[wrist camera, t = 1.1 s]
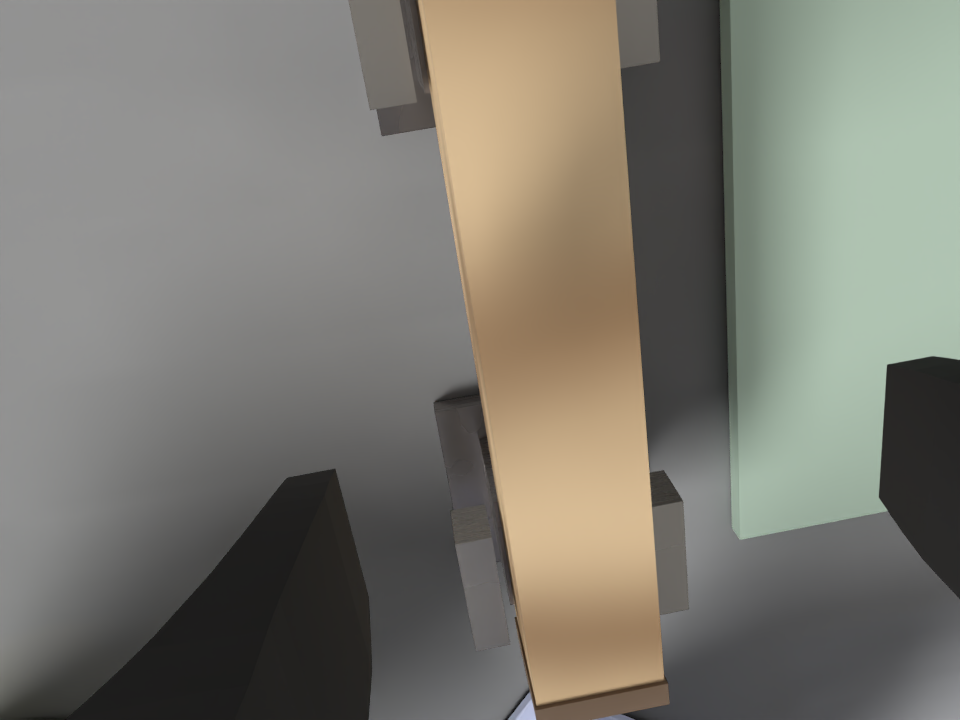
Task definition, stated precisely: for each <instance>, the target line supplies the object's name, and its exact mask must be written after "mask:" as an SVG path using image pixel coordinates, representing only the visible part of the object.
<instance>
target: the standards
mask: <svg viewBox="0 0 960 720" xmlns="http://www.w3.org/2000/svg"><path fill="white" fill-rule="evenodd" d="M349 5H350V10H351V15H352V21H353V26H354V31H355V36H356V41H357V46H358V51H359V56H360V61H361V67H362V72H363V77H364V82H365V87H366V92H367V97H368V102H369V107H370V110H374V109H377V114H378V119H379V124H380V129H381V135H382V136H386V135H392V134H398V133H404V132H410V131H415V130H421V129H427V128H433V127H436V124H435V118H434V112H433V106H432V99H431V93H430V87H429V81H428V75H427V69H426V63H425V57H424V51H423V45H422V39H421V33H420V27H419V21H418V14H417V8H416V2H415V0H349ZM616 14H617V28H618V42H619V55H620V69H621V68H627V67H633V66H639V65H645V64H651V63H657V62H660V50H659V31H658V12H657V0H616ZM434 409H435V415H436V421H437V426H438V431H439V436H440V441H441V447H442V452H443V457H444V462H445V467H446V473H447V478H448V483H449V488H450V493H451V499H452V504H453V509H454V510H451V511H450V512H451V519H452V526H453V533H454V541H455V547H456V552H457V557H458V562H459V567H460V573H461V578H462V583H463V588H464V593H465V598H466V603H467V608H468V613H469V619H470V624H471V629H472V634H473V639H474V644H475V649H476V651H481V650H486V649H491V648H496V647H501V646H506V645H510V640H509V634H508V628H507V622H506V617H505V611H504V605H503V599H502V593H501V587H500V582H499V576H498V570H497V564H496V562H499V561H501V563H502V568H503V573H504V577H505V582H506V586H507V591H508V595H509V600H510V604H511V605H513V604H515V603H514V597H513V591H512V585H511V579H510V573H509V567H508V561H507V555H506V549H505V543H504V537H503V531H502V524H501V518H500V512H499V506H498V500H497V494H496V488H495V482H494V476H493V470H492V464H491V458H490V452H489V446H488V439H487V433H486V427H485V421H484V415H483V409H482V403H481V397H480V394H478V395H472V396H467V397H461V398H456V399H451V400H445V401H440V402H434ZM649 474H650V488H651V502H652V516H653V530H654V544H655V558H656V572H657V586H658V600H659V613H660V615H663V614H668V613H673V612H678V611H683V610H688V609H689V603H688V584H687V565H686V546H685V527H684V508H683V500H682V499H681V497H680V495H679V494H678V492H677V491H676V489H675V487H674V486H673V484H672V482H671V481H670V479H669V478H668V476H667V474H666V473H665V471H664V470H662V471H657V472H651V473H649Z"/></svg>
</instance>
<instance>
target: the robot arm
mask: <svg viewBox="0 0 960 720" xmlns="http://www.w3.org/2000/svg"><path fill="white" fill-rule="evenodd" d="M879 499H880V500H881V502H882V503H883V504H884V506H885V507H886V509H887V510H888V512H889V513H890V515H891V516H892V518H893V519H894V520H895V522H896V523H897V525H898V526H899V528H900V529H901V531H902V532H903V533H904V535H905V536H906V537H907V539H908V540H909V541H910V543H911V544H912V545H913V547H914V548H915V549H916V551H917V552H918V553H919V555H920V556H921V557H922V559H923V560H924V561H925V562H926V563H927V564H928V565H929V566H930V568H931V569H932V570H933V571H934V572H935V573H936V574H937V575H938V576H939V577H940V578H941V579H942V581H943V582H944V583H945V584H946V585H947V586H948V587H949V588H950V589H951V590H952V591H953V592H954V593H955V594H956V595H957V596H958V597H959V599H960V360H957V359H951V358H944V357H936V356H930V357H925V358H920V359H914V360H909V361H904V362H898V363H893V364H888V365H887V371H886V387H885V403H884V419H883V436H882V452H881V468H880V484H879ZM371 677H372V655H371V631H370V612H369V596H368V593H367V589H366V585H365V581H364V577H363V574H362V570H361V566H360V562H359V558H358V554H357V551H356V547H355V543H354V539H353V535H352V531H351V528H350V524H349V520H348V516H347V512H346V509H345V505H344V501H343V497H342V493H341V489H340V486H339V482H338V478H337V474H336V470H335V469H332V470H326V471H321V472H316V473H310V474H305V475H300V476H295V477H289V478H287V479H286V480H285V481H284V482H283V483H282V484H281V486H280V487H279V488H278V489H277V491H276V492H275V493H274V494H273V496H272V497H271V498H270V500H269V501H268V502H267V503H266V505H265V506H264V507H263V509H262V510H261V511H260V513H259V514H258V515H257V516H256V518H255V519H254V520H253V522H252V523H251V524H250V525H249V527H248V528H247V529H246V531H245V532H244V533H243V534H242V536H241V537H240V538H239V539H238V540H237V542H236V543H235V544H234V545H233V547H232V548H231V549H230V550H229V552H228V553H227V554H226V555H225V557H224V558H223V559H222V560H221V562H220V563H219V564H218V565H217V566H216V568H215V569H214V570H213V571H212V573H211V574H210V575H209V576H208V577H207V578H206V579H205V581H204V582H203V583H202V584H201V585H200V586H199V587H198V588H197V589H196V591H195V592H194V593H193V594H192V595H191V596H190V597H189V598H188V599H187V601H186V602H185V603H184V604H183V605H182V606H181V607H180V608H179V609H178V610H177V612H176V613H175V614H174V615H173V616H172V617H171V618H170V619H169V620H168V622H167V623H166V624H165V625H164V626H163V627H162V628H161V629H160V630H159V632H158V633H157V634H156V635H155V636H154V637H153V638H152V639H151V640H150V641H149V642H148V643H147V644H146V645H145V646H144V647H143V648H142V649H141V650H140V651H139V652H138V653H137V654H136V655H135V656H134V657H133V658H132V659H131V660H130V661H129V662H128V663H127V664H126V665H125V666H124V667H123V668H122V669H121V670H120V671H119V672H118V673H116V674H115V675H114V676H113V677H112V678H111V679H110V680H109V681H108V682H107V683H106V684H105V685H103V686H102V687H101V688H100V689H99V690H98V691H97V692H96V693H95V694H94V695H93V696H92V697H90V698H89V699H88V700H87V701H86V702H85V703H84V704H83V705H82V706H81V707H79V708H78V709H77V710H76V711H75V712H74V713H73V714H71V715H70V716H69V717H68V718H67V719H66V720H368V718H369V705H370V692H371ZM508 720H536V716H535V712H534V707H533V703H532V698H531V694H530V692H529V693H528V694H527V696H526V697H525V698H524V699H523V701H522V702H521V703H520V705H519V706H518V707H517V708H516V710H515V711H514V712H513V714H512V715H511V716H510V717H509V719H508ZM594 720H635V719H632V718H630V717H627V716H625V715H622V714H619V715H614V716H609V717H604V718H599V719H594Z"/></svg>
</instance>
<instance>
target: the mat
mask: <svg viewBox="0 0 960 720" xmlns="http://www.w3.org/2000/svg"><path fill="white" fill-rule="evenodd" d="M720 41H721V84H722V127H723V169H724V212H725V255H726V297H727V340H728V383H729V426H730V468H731V511H732V529H733V530H734V532H735V533H736V535H737V536H738V537H739V539H740V540H742V539H747V538H752V537H757V536H763V535H768V534H773V533H778V532H783V531H788V530H793V529H799V528H804V527H809V526H814V525H819V524H824V523H829V522H835V521H840V520H845V519H850V518H855V517H860V516H865V515H871V514H876V513H881V512H886V511H888V510H887V509H886V507H885V506H884V504H883V503H882V502H881V500H880V499H879V484H880V468H881V452H882V436H883V419H884V403H885V387H886V371H887V365H888V364H893V363H898V362H904V361H909V360H914V359H920V358H925V357H930V356H936V357H944V358H951V359H957V360H960V0H720Z"/></svg>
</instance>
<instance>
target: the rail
mask: <svg viewBox="0 0 960 720" xmlns="http://www.w3.org/2000/svg"><path fill="white" fill-rule="evenodd" d="M415 2H416V8H417V14H418V21H419V27H420V33H421V39H422V45H423V51H424V57H425V63H426V69H427V75H428V81H429V87H430V93H431V99H432V106H433V112H434V118H435V124H436V130H437V136H438V142H439V148H440V154H441V160H442V166H443V172H444V178H445V184H446V191H447V197H448V203H449V209H450V215H451V221H452V227H453V233H454V239H455V245H456V251H457V257H458V263H459V269H460V276H461V282H462V288H463V294H464V300H465V306H466V312H467V318H468V324H469V330H470V336H471V342H472V348H473V354H474V361H475V367H476V373H477V379H478V385H479V391H480V397H481V403H482V409H483V415H484V421H485V427H486V433H487V439H488V446H489V452H490V458H491V464H492V470H493V476H494V482H495V488H496V494H497V500H498V506H499V512H500V518H501V524H502V531H503V537H504V543H505V549H506V555H507V561H508V567H509V573H510V579H511V585H512V591H513V597H514V603H515V609H516V616H517V617H515V622H516V628H517V634H518V639H519V644H520V648H521V653H522V657H523V662H524V666H525V671H526V675H527V680H528V685H529V689H530V694H531V698H532V703H533V707H534V712H535V716H536V720H594V719H599V718H604V717H609V716H614V715H619V714H624V713H628V712H633V711H638V710H643V709H648V708H653V707H658V706H663V705H668V704H669V690H668V682H667V680H666V678H665V675H664V669H663V655H662V641H661V627H660V613H659V600H658V586H657V572H656V558H655V544H654V530H653V516H652V502H651V488H650V474H649V460H648V446H647V432H646V418H645V404H644V390H643V376H642V362H641V348H640V334H639V321H638V307H637V293H636V279H635V265H634V251H633V237H632V223H631V209H630V195H629V181H628V167H627V153H626V139H625V125H624V111H623V97H622V83H621V69H620V55H619V42H618V28H617V14H616V0H415Z"/></svg>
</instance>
